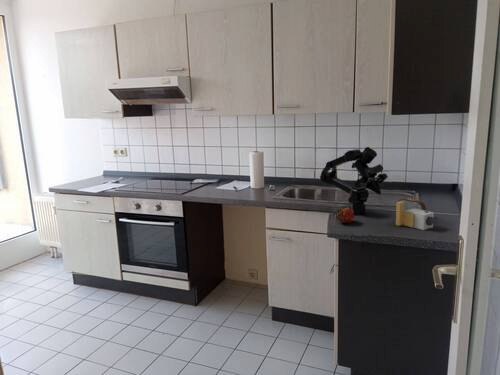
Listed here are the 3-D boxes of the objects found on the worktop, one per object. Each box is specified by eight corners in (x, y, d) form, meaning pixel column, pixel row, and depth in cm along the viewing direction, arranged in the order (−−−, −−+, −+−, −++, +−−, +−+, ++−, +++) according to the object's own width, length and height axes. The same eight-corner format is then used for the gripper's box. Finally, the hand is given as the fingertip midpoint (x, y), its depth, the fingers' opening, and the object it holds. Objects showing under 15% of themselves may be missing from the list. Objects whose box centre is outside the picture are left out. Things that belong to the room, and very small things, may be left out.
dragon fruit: (337, 228, 188) (349, 226, 197) (350, 220, 183) (362, 218, 192) (329, 213, 191) (341, 211, 200) (342, 204, 186) (354, 203, 194)
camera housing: (404, 224, 184) (405, 209, 183) (414, 222, 188) (415, 207, 186) (425, 230, 175) (426, 214, 173) (435, 227, 178) (436, 211, 177)
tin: (425, 217, 196) (426, 200, 194) (422, 218, 194) (423, 201, 192) (399, 211, 208) (400, 196, 206) (396, 212, 206) (396, 197, 204)
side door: (395, 224, 184) (396, 202, 182) (400, 223, 186) (401, 201, 184) (408, 228, 178) (409, 205, 176) (413, 227, 180) (414, 204, 177)
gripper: (359, 161, 188) (376, 186, 181) (385, 157, 197) (402, 181, 190) (347, 175, 197) (363, 200, 189) (373, 171, 206) (389, 194, 198)
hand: (380, 193), depth 192 cm, fingers closed
